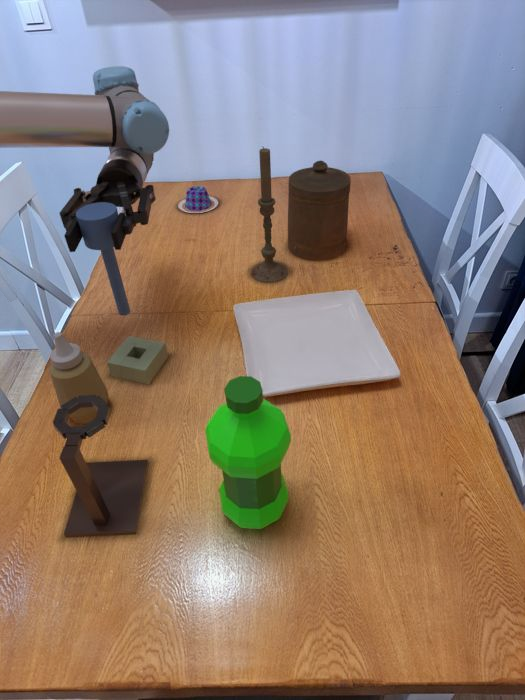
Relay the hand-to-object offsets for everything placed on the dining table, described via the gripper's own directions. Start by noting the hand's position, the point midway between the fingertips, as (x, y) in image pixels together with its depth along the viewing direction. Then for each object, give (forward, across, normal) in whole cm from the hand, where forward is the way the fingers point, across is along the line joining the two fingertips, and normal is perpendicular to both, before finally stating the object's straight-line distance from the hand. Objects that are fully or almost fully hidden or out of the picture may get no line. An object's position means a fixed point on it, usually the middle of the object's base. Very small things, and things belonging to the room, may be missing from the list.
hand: (92, 242), depth 71 cm
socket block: (-5, 0, -30) cm, 30 cm away
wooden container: (-47, -39, -30) cm, 68 cm away
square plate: (-8, -33, -30) cm, 45 cm away
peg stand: (+24, 0, -30) cm, 39 cm away
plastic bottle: (+26, -22, -30) cm, 45 cm away
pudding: (-75, -6, -30) cm, 81 cm away
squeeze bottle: (+6, +7, -30) cm, 32 cm away
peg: (-5, 0, -16) cm, 17 cm away
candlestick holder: (-36, -26, -30) cm, 54 cm away
